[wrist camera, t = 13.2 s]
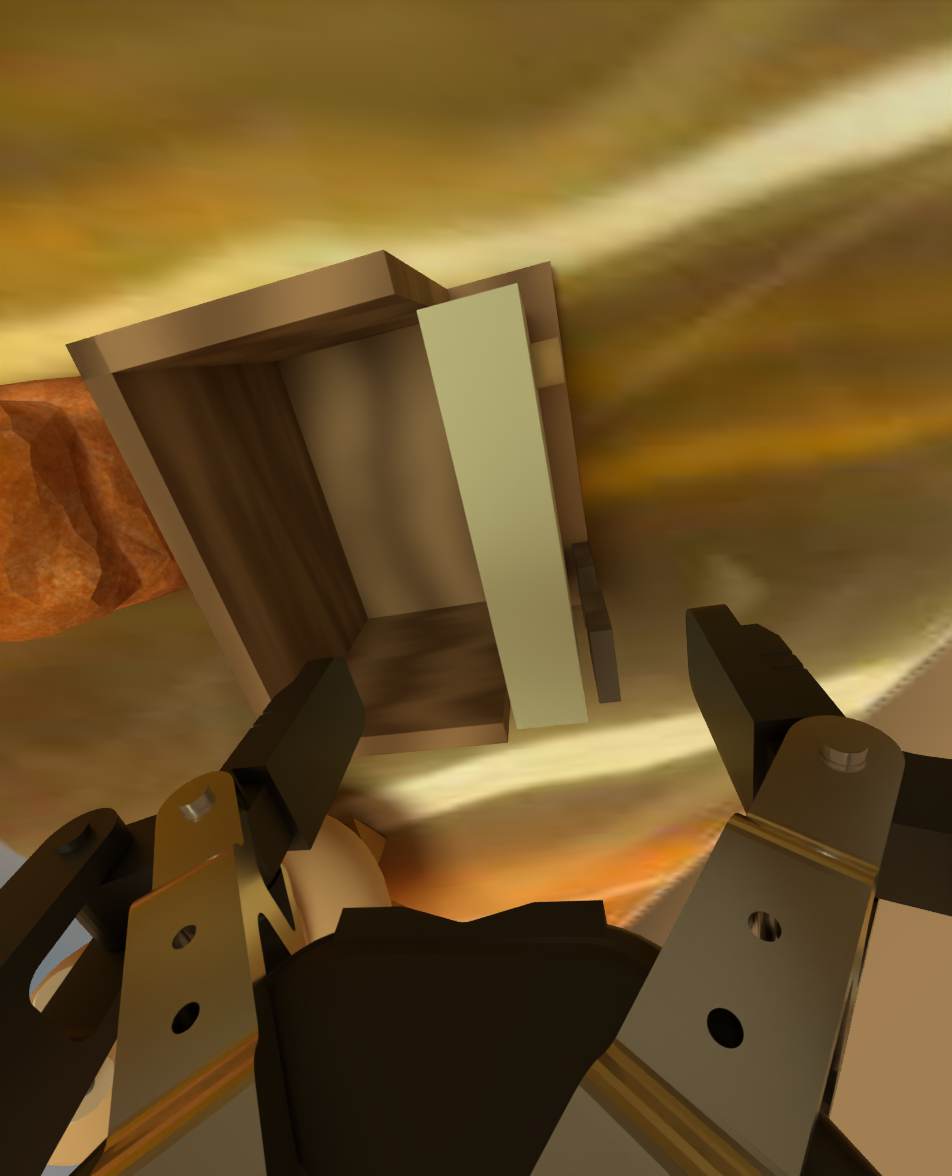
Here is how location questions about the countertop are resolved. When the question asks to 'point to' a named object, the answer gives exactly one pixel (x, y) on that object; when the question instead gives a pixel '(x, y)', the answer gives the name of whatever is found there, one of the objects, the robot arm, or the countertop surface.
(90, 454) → the bread
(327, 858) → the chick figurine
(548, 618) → the door
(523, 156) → the countertop surface
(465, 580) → the cabinet
